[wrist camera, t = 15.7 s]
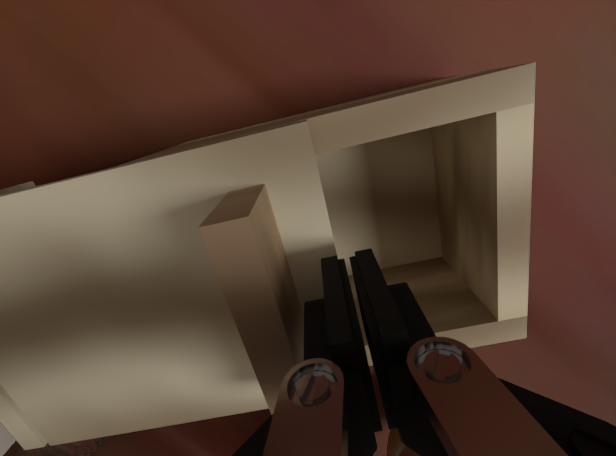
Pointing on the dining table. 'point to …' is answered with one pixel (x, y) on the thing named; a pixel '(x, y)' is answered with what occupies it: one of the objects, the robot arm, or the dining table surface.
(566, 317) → the dining table surface
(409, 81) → the dining table surface
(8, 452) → the brick
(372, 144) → the toolbox
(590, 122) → the dining table surface
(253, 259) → the lid
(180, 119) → the dining table surface
